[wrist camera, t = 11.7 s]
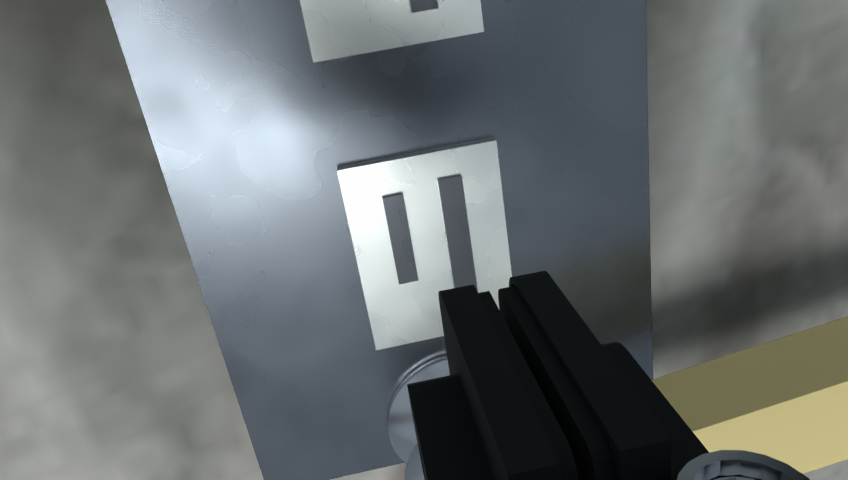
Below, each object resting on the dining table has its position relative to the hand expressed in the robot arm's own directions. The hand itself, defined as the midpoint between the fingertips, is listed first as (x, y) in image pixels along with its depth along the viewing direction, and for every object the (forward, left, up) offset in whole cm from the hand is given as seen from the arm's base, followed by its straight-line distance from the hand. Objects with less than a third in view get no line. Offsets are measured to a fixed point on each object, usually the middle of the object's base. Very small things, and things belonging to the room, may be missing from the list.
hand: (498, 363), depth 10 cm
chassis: (-1, 0, -11) cm, 11 cm away
